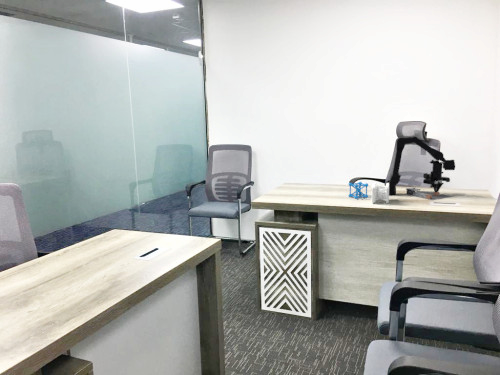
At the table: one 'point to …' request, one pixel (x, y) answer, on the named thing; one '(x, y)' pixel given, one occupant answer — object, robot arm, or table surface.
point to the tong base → (417, 193)
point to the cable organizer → (380, 192)
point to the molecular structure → (358, 190)
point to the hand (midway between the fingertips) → (436, 193)
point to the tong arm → (429, 193)
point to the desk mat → (436, 197)
